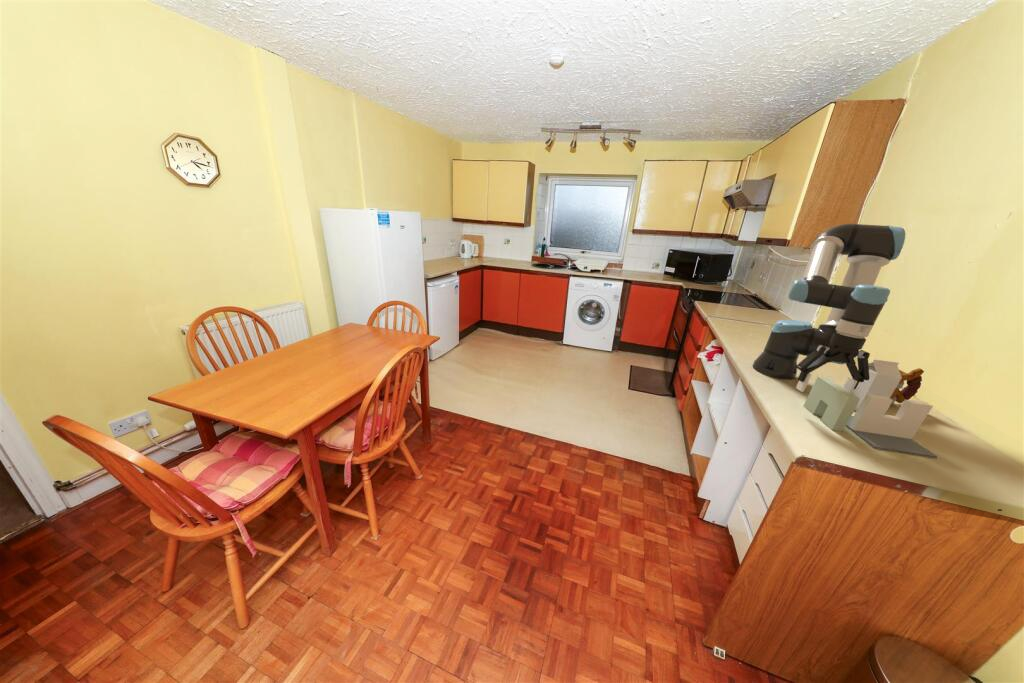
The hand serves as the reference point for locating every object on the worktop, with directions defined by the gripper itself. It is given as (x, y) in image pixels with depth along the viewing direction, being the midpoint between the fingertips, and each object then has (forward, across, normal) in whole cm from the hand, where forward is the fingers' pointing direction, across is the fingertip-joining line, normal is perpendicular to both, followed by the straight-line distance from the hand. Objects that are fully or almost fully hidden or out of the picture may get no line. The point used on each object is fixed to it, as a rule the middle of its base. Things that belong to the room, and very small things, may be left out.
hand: (821, 393), depth 110 cm
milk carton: (+7, +20, +8) cm, 23 cm away
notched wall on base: (+7, +13, -9) cm, 18 cm away
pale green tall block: (+7, 0, -4) cm, 8 cm away
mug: (+7, +34, +18) cm, 39 cm away
